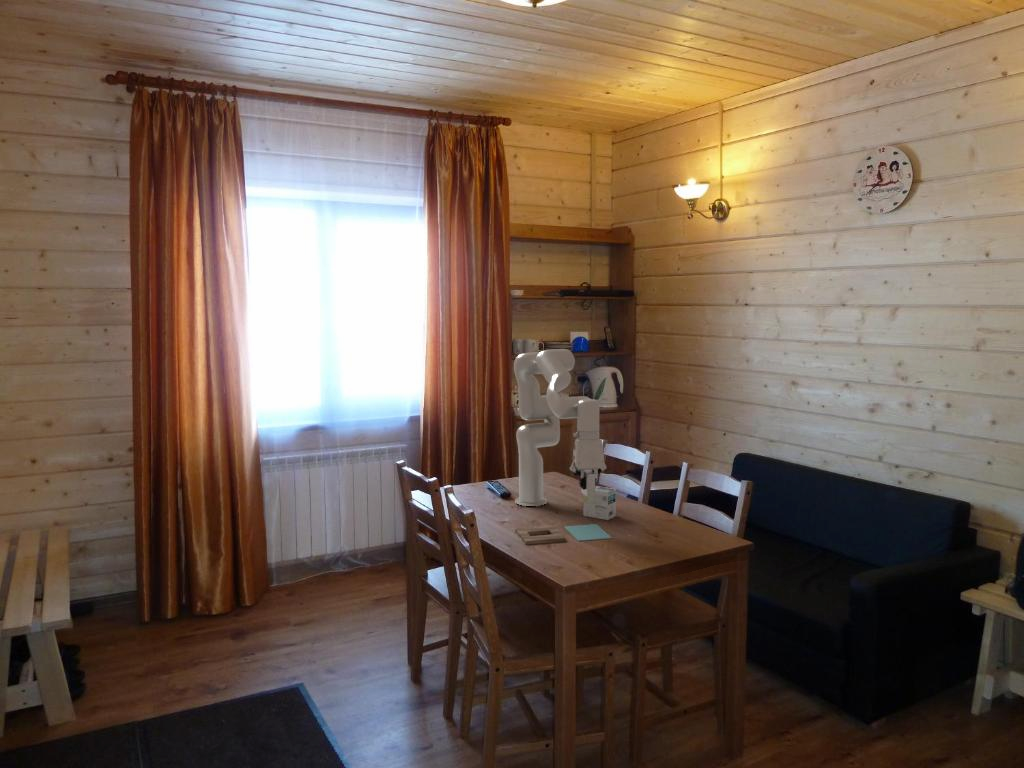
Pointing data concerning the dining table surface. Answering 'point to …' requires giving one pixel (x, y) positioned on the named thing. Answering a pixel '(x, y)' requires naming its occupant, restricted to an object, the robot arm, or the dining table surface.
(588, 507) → the light bulb box
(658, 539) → the dining table surface
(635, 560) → the dining table surface
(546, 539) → the walnut slot plate
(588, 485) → the metal T-key
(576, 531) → the teal mat
